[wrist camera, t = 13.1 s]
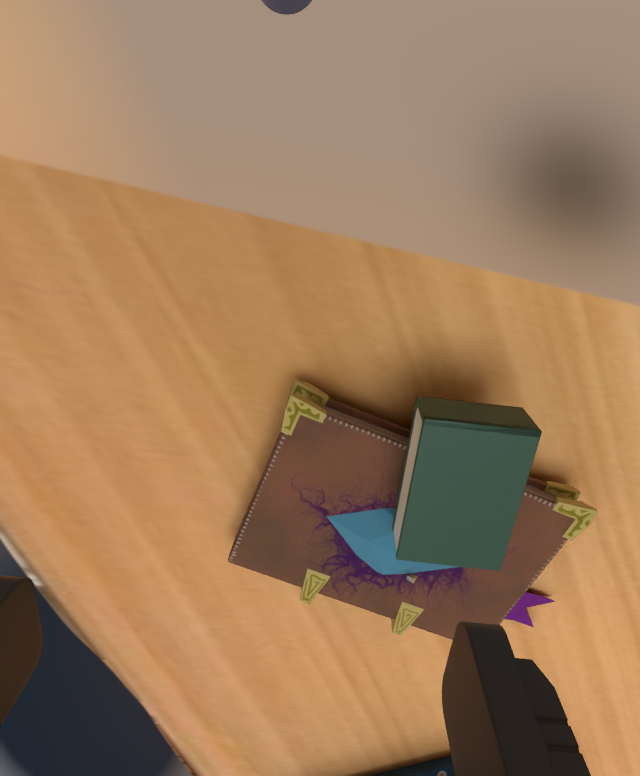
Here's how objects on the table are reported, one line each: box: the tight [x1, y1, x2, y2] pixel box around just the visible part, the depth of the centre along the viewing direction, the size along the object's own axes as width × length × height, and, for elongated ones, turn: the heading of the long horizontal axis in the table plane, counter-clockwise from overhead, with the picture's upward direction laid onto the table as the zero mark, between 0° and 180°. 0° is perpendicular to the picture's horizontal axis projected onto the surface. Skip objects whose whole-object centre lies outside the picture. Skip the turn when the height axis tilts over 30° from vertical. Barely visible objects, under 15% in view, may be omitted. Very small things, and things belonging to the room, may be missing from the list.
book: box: [228, 379, 597, 640], centre depth 35 cm, size 16×25×5 cm, turn 68°
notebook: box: [392, 396, 542, 571], centre depth 29 cm, size 9×6×3 cm, turn 174°
